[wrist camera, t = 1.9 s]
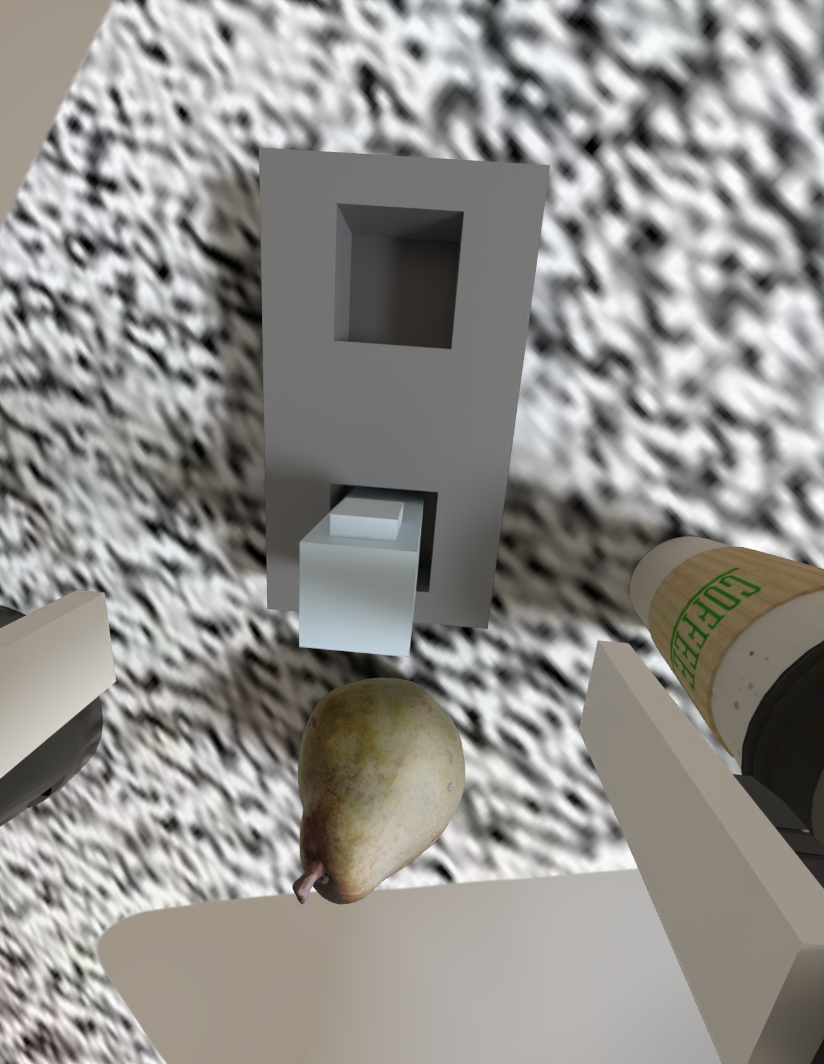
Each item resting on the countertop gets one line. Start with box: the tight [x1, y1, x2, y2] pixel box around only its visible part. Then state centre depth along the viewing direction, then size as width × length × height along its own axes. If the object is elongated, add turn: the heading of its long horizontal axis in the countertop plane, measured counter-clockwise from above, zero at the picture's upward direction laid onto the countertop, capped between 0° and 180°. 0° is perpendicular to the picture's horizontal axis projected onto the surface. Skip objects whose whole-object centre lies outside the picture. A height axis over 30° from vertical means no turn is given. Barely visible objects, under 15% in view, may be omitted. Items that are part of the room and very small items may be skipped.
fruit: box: [293, 678, 465, 904], centre depth 24 cm, size 10×9×12 cm
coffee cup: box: [630, 536, 824, 847], centre depth 19 cm, size 10×10×15 cm
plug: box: [299, 486, 425, 657], centre depth 21 cm, size 4×5×11 cm
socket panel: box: [259, 148, 550, 629], centre depth 23 cm, size 12×21×4 cm, turn 176°
